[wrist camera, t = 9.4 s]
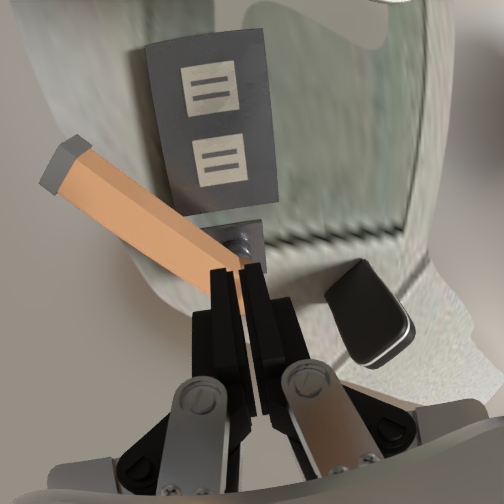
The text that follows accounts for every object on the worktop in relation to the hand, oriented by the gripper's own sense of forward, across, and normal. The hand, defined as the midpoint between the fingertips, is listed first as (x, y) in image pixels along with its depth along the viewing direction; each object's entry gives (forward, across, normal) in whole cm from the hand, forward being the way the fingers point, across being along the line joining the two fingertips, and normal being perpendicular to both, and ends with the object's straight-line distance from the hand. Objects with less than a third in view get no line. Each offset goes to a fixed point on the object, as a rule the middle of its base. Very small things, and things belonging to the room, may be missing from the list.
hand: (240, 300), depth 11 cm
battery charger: (+19, -13, +17) cm, 29 cm away
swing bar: (+15, +5, +4) cm, 16 cm away
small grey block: (+19, 0, +10) cm, 22 cm away
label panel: (+19, 0, -3) cm, 19 cm away
